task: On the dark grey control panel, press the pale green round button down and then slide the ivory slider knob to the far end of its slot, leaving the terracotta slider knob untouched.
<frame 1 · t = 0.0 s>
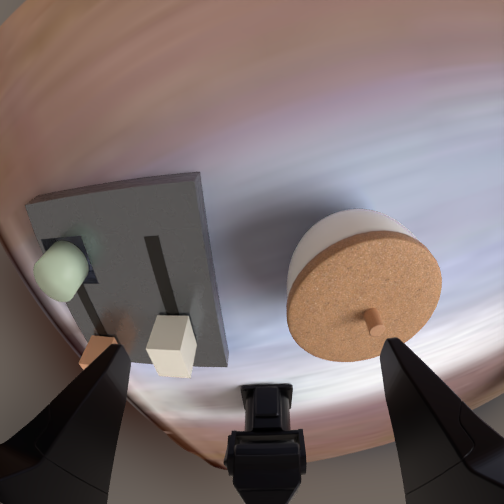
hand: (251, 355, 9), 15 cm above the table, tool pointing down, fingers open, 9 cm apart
slider b: (103, 362, 27), point 4 cm above the table, slide at 0.0 cm
button c: (61, 271, 22), point 3 cm above the table, slide at 0.0 cm
slider a: (173, 346, 25), point 4 cm above the table, slide at 0.0 cm
lidded jar: (343, 246, 24), on the table
panel: (134, 283, 27), on the table
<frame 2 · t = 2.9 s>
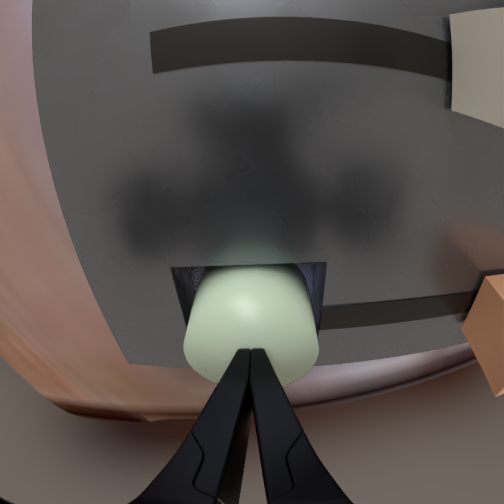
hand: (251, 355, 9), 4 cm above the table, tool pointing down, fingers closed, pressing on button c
button c: (251, 323, 11), point 2 cm above the table, slide at 1.4 cm, touching gripper
panel: (361, 165, 9), on the table
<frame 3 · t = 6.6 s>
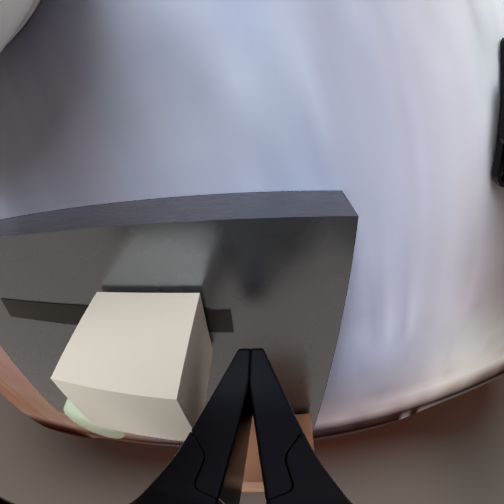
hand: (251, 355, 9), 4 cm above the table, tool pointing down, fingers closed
slider b: (274, 455, 14), point 4 cm above the table, slide at 0.0 cm
button c: (99, 405, 16), point 2 cm above the table, slide at 1.6 cm
slider a: (141, 365, 9), point 4 cm above the table, slide at 0.9 cm, touching gripper
panel: (132, 343, 15), on the table
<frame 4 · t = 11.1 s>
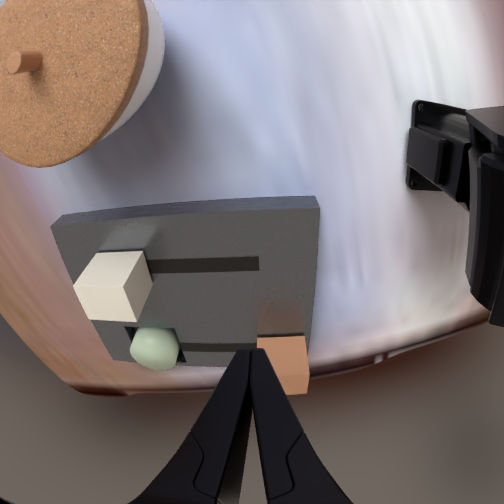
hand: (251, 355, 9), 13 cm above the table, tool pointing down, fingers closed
slider b: (281, 366, 24), point 4 cm above the table, slide at 0.0 cm
button c: (156, 344, 26), point 2 cm above the table, slide at 1.6 cm
slider a: (114, 285, 19), point 4 cm above the table, slide at 8.1 cm
lidded jar: (110, 59, 15), on the table
panel: (189, 291, 25), on the table
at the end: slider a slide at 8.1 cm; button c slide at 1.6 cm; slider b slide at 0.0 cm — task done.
